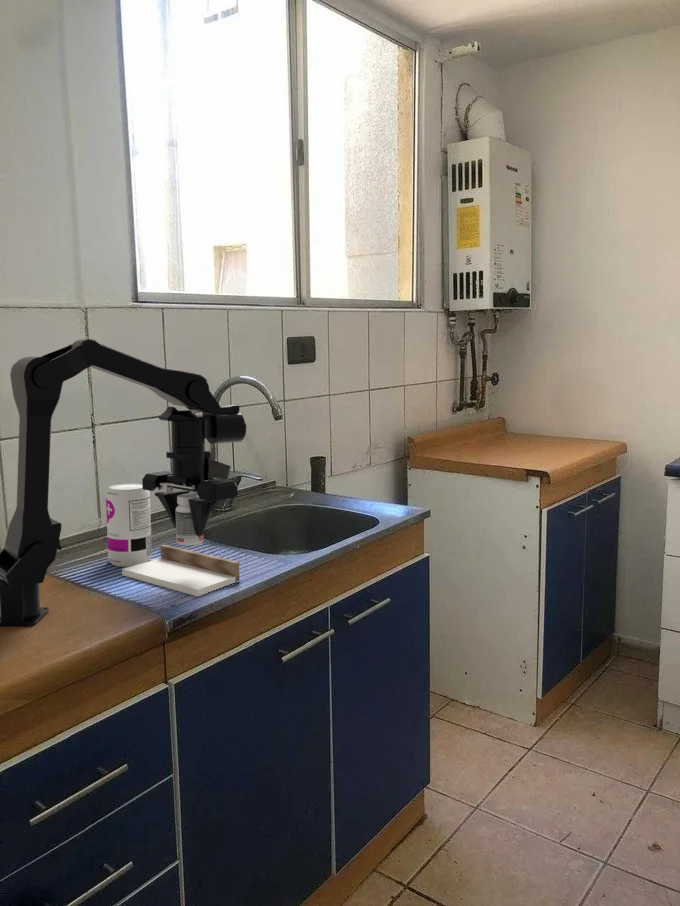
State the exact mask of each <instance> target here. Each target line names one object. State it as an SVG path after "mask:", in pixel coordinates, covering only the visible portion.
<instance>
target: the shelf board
mask: <svg viewBox="0 0 680 906" xmlns="http://www.w3.org/2000/svg"><path fill="white" fill-rule="evenodd" d="M121 570H122V571H121V575H122V576H123V577H124V576H125V577H128V578H131V579H134V580H137V581H142V582H145V583H148V584H151V585H155V586H159V587H163V588H166V589H170V590H173V591H176V592H181V593H183V594H188V595H191V596H194V597H201V596H203V595H206V594H208V592H209V593H211V591H212V592H214V591H213V590H215V591H217V590H216V589H218V590H220V589H219V588H221V589H223V588H222V587H224V586H227V585H229V584H232V583H234V582H237V581H239V582H240V561H238V560H233V559H227V558H225V557H224V558H223V557H219V556H215V555H212V554H207V553H202V552H198V551H193V550H190V549H185V548H182V547H177V546H171V545H168V544H162V545H160V558H156V559H153V560H149V562H145V563H142V564H138V565H134V566H131V567H122V568H121ZM232 585H233V584H232ZM229 586H230V585H229ZM227 587H228V586H227ZM224 588H225V587H224Z"/></svg>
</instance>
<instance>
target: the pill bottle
mask: <svg viewBox="0 0 680 906" xmlns="http://www.w3.org/2000/svg"><path fill="white" fill-rule="evenodd" d="M193 498H197V493H189V494H182V495H178V496H177V504H179V506H177V507H176V528H175V532H176V533H175V537H176V538H175V539H176V543H177V545H183V546H194V545H195V546H196V545H200V544H202V543H203V542H204V534H203V535H201V536H197V535H196V532H195V528H194V524H193V519H192V515H191V510H190V506H189V501H188V499H193Z"/></svg>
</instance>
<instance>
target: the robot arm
mask: <svg viewBox="0 0 680 906" xmlns="http://www.w3.org/2000/svg"><path fill="white" fill-rule="evenodd" d="M88 368H92V369H94V370H97V371H100V372H104V373H106V374H109V375H111V376H115V377H117V378H120V379H122V380H125V381H128V382H131V383H132V384H133V383H134V384H136V385H139V386H142V387H143V388H146V389H149V390H150V391H151V392H153V393H154V394H156V396H158V397H160V398H161V399H163V400H165V401H166V402H168V403H170V404H172V405H174V406H179V407H184V408H186V409H187V410H185V409H184V410H178V409H177V408H176V407H174V406H167V408H166V410H165V411H164V412H163V413H161V414H160V415H159V416H158V419H159V421H165V422H170V433H171V434H170V435H171V436H170V437H171V438H170V439H171V444H170V445H171V451H166V453H165V455H166V458H167V459H171V471H167V470H164V471H155V472H152V473H151V472H148V473H146V474H145V475H144V476H143V478H142V479H141V480H142V483H141V484H142V487H143V490H148V491H149V492H153V491H156V489H157V492H155V493H154V496H155V497H157V499H159V502H160V503H161V505H162V506H163V507H164V508H163V509H164V510H165V511H166V513H167V515H168V517H169V519H170V520H171V523H172V524H173V526H174V528H175V529H176V507H177V506H179V504H177V496H178V495H182V494H190V492H195V493H196V494H197V498H193V499H188V501H189V506H190V510H191V515H192V519H193V524H194V528H195V532H196V535H197V536H201V535H203V536H204V532H205V530H206V529H205V528H206V525H207V522H208V520H209V518H210V514H211V511H212V510H213V507H214V506H215V505H216V504H217V503H218V502H219V501H222V500H228V499H232V498H238V493H239V492H238V484H237V483H236V482H235V480H229V475H230V473H231V472H230V471H231V468H232V466H231V465H229V464H227V463H223V462H220V461H217V460H213V459H212V453H211V451H210V450H206V441H207V442H208V443H209V444H212V445H215V444H229V443H240V442H243V440H244V439H245V437H246V433H247V424H246V422H245V418H244V416H243V414H242V413H241V412H240V405H235V404H228V405H225V406H221V405H220V404H219V402H218V401H217V399H216V398H215V397H214V395H213V394H212V392H211V390H210V385H209V382H208V379H207V378H206V377H204V376H203V375H202V374H199V373H193V372H187V371H182V370H175V369H170V368H165V367H160V366H157V365H155V364H152V363H150V362H147V361H145V360H143V359H141V358H137V357H134V356H132V355H130V354H127V353H124V352H123V351H119V350H117V349H114V348H112V347H109V346H106V345H104V344H102V343H100V342H99V341H98V340H96V339H91V338H90V339H89V338H86V339H78V340H76V341H74V342H73V343H71V344H69V345H67V346H64V347H62V348H59V349H57V350H53V351H51V352H49V353H45V354H43V355H41V356H25V357H23V358H20V359H18V360H17V361H16V362H15V363H14V364H12V366H11V369H10V374H9V375H10V376H9V377H10V383H11V389H12V396H13V397H12V398H13V400H14V403H15V406H16V409H17V412H18V415H19V425H18V429H19V430H18V450H17V451H18V457H17V482H16V483H17V484H16V485H17V486H16V487H17V488H16V489H17V490H16V506H15V507H16V508H15V511H14V514H13V515H12V517H11V520H10V522H9V524H8V530H7V533H6V537H5V543H4V547H3V549H2V550H1V551H0V626H33V625H35V624H37V623H38V622H39V621H40V620H41V619H42V618H43V617H44V616H45V615H46V614H47V613H48V612H49V611H50V607H47V606H46V607H45V606H44V607H43V606H42V607H41V597H40V596H41V594H40V591H41V590H40V584H42V583H44V580H45V577H46V574H47V571H48V568H49V567H50V566H51V564H52V563H54V562H55V560H56V558H57V555H58V550H59V551H61V550H62V548H63V547H62V546H61V541H60V538H61V532H62V522H59V521H57V520H55V519H53V518H51V516H50V513H49V487H50V463H51V462H50V459H51V458H50V456H51V435H52V433H51V432H52V431H51V430H52V417H53V415H54V412H55V410H56V408H57V406H58V403H59V401H60V397H61V393H62V389H63V383H64V382H65V381H68V380H70V379H72V378H74V377H76V376H77V375H79V374H81V372H83V371H84V370H86V369H88ZM196 412H199V413H200V412H201V413H202V415H197V414H196Z"/></svg>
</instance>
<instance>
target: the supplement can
mask: <svg viewBox="0 0 680 906" xmlns="http://www.w3.org/2000/svg"><path fill="white" fill-rule="evenodd" d="M150 492H151V491H149V490H143V487H142V483H134V482H133V483H130V482H129V483H119V484H113V485H110V486H108V490H107V492H106V494H105V505H106V506H105V511H106V532H107V535H106V536H107V561H108V562H109V563H111V565H112V566H115V567H120V568H121V567H122V568H127V567H131V566H134V565H138V564H142V563H145V562H149V561H151V559H153V557H152V556H153V555H152V522H151V494H150Z"/></svg>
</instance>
